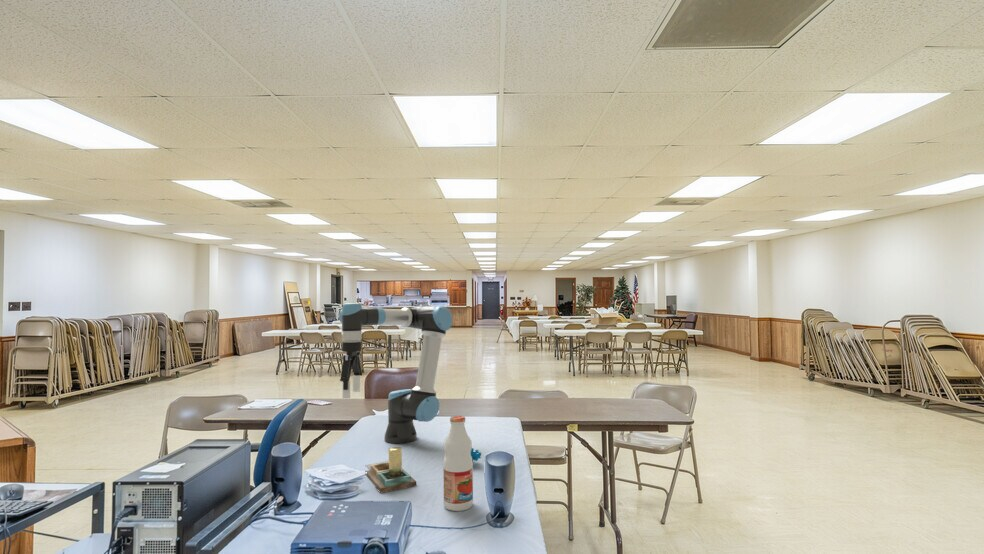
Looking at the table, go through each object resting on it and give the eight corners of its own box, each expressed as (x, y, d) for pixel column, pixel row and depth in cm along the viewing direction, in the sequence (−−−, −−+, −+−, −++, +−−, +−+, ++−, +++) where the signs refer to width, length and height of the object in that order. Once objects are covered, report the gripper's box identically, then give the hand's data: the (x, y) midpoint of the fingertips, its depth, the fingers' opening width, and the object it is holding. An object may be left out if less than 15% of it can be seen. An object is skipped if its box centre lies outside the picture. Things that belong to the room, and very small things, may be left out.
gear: (483, 457, 194) (478, 445, 188) (483, 471, 190) (477, 459, 183) (457, 460, 196) (451, 448, 189) (456, 474, 192) (450, 462, 185)
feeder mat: (389, 462, 195) (389, 460, 195) (396, 468, 187) (396, 467, 187) (364, 466, 190) (364, 465, 190) (371, 473, 182) (371, 472, 182)
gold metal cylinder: (400, 476, 174) (400, 445, 175) (404, 480, 170) (404, 449, 170) (386, 479, 172) (386, 448, 173) (390, 483, 167) (389, 451, 168)
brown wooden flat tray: (398, 468, 187) (398, 459, 187) (416, 485, 170) (416, 475, 170) (365, 475, 181) (365, 465, 181) (380, 493, 163) (380, 482, 163)
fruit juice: (451, 497, 159) (451, 412, 160) (477, 501, 155) (476, 414, 157) (438, 509, 150) (437, 419, 151) (465, 513, 146) (464, 421, 148)
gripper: (351, 339, 204) (351, 389, 203) (331, 344, 179) (331, 401, 178) (369, 338, 204) (369, 388, 203) (351, 343, 179) (351, 401, 178)
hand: (351, 394), depth 190 cm, fingers open, 13 cm apart
